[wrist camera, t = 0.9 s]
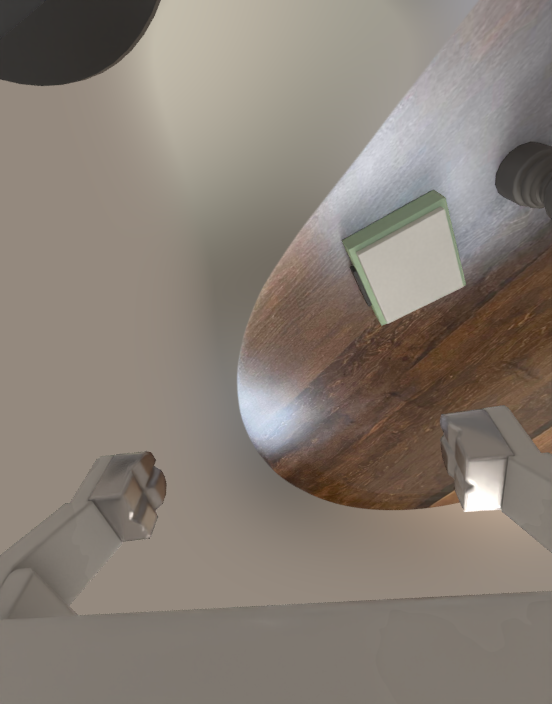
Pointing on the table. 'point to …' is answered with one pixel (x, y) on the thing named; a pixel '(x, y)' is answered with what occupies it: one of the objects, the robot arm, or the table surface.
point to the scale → (406, 258)
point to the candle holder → (527, 176)
